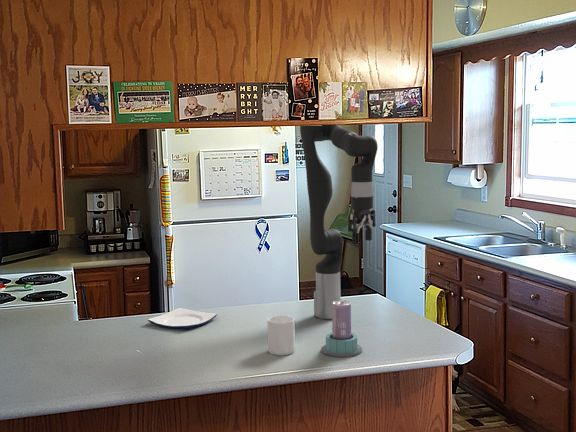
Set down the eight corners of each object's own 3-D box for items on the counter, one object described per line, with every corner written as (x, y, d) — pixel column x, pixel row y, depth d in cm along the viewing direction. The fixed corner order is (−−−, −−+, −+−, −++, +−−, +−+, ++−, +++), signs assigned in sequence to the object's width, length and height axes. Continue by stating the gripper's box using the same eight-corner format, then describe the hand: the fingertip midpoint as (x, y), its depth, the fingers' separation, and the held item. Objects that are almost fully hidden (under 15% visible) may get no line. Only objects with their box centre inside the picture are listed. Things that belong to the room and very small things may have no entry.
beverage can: (351, 345, 233) (351, 300, 231) (351, 351, 227) (350, 305, 225) (333, 345, 233) (332, 300, 231) (332, 351, 227) (331, 305, 225)
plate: (221, 320, 270) (221, 313, 269) (187, 334, 252) (186, 326, 252) (179, 313, 280) (179, 306, 280) (143, 326, 263) (143, 319, 263)
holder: (313, 352, 229) (313, 338, 228) (335, 342, 239) (335, 328, 238) (348, 360, 221) (348, 345, 220) (369, 349, 231) (369, 334, 231)
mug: (290, 343, 239) (290, 312, 237) (297, 355, 227) (296, 322, 225) (265, 345, 237) (264, 313, 236) (270, 356, 225) (269, 323, 224)
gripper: (363, 192, 250) (363, 238, 252) (341, 196, 238) (341, 244, 240) (382, 193, 245) (382, 240, 247) (360, 197, 234) (361, 246, 236)
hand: (362, 242), depth 244 cm, fingers open, 8 cm apart
